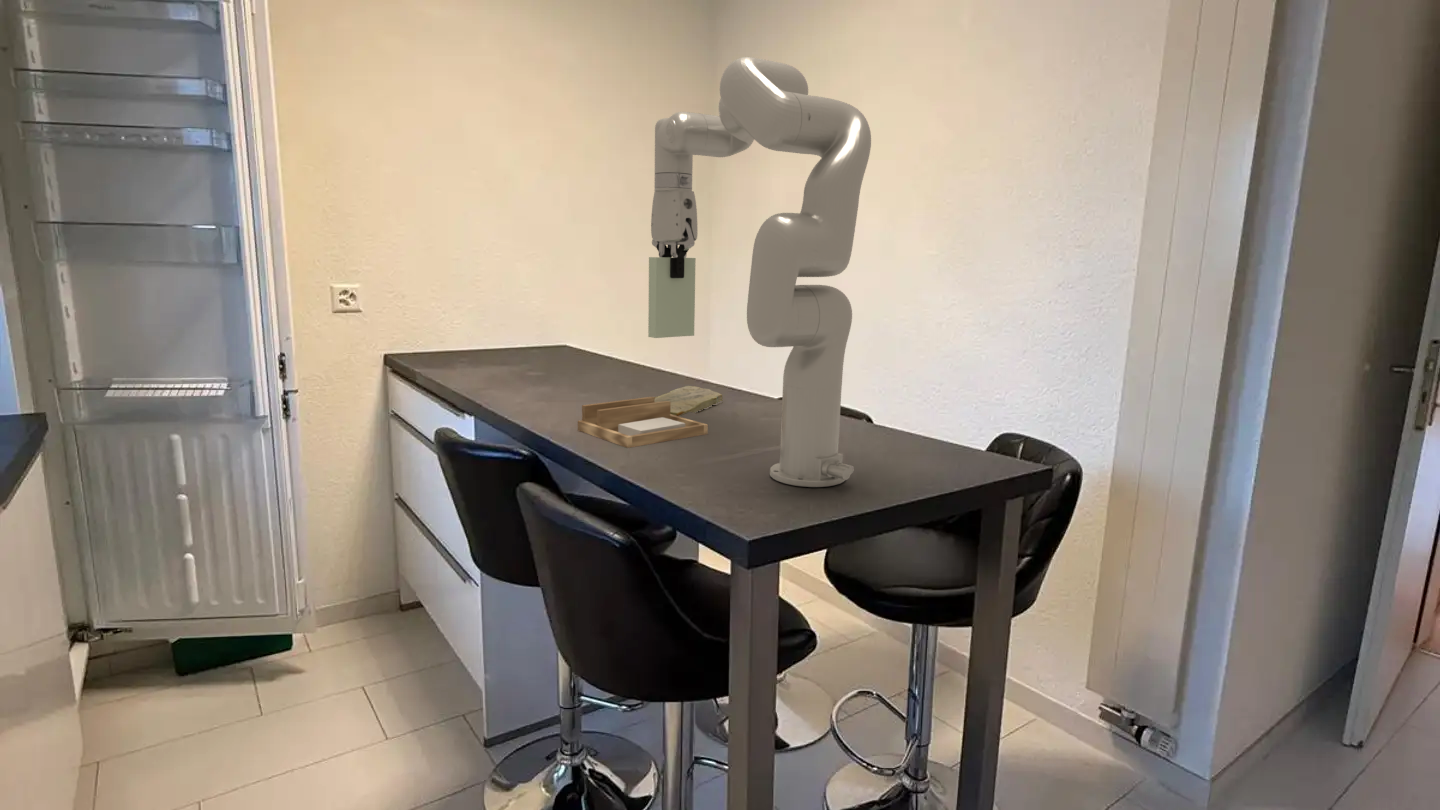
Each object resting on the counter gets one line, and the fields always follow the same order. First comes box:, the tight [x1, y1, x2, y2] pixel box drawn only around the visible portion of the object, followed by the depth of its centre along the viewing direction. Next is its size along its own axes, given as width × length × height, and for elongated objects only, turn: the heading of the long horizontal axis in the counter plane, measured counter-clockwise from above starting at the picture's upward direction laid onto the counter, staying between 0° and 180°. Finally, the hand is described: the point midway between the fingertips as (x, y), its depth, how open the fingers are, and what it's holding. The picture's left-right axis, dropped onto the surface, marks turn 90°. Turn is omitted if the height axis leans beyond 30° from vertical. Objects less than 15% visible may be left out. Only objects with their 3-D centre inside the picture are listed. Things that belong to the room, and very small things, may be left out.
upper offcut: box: [618, 417, 685, 436], centre depth 154 cm, size 7×11×2 cm, turn 134°
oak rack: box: [577, 396, 709, 449], centre depth 156 cm, size 17×19×6 cm
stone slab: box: [654, 385, 724, 417], centre depth 187 cm, size 12×4×30 cm
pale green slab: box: [647, 256, 696, 339], centre depth 162 cm, size 2×10×16 cm, turn 131°
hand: (672, 276), depth 161 cm, fingers closed on pale green slab, 2 cm apart
